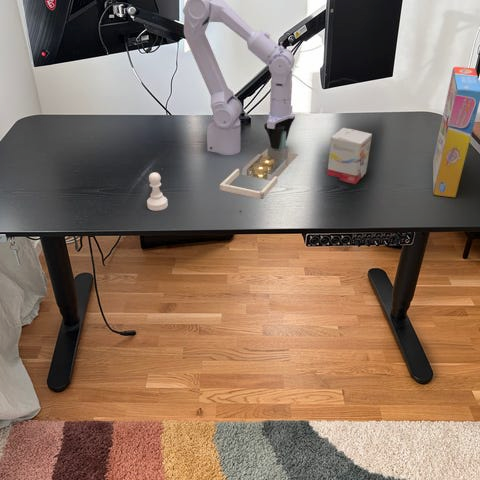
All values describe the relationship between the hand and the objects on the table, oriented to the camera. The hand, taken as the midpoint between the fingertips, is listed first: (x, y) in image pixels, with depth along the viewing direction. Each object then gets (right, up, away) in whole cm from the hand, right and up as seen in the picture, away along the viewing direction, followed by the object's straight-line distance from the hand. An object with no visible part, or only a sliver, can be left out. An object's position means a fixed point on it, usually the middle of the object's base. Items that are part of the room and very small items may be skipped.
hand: (279, 144), depth 149 cm
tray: (-9, -14, -13) cm, 21 cm away
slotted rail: (-3, -7, -3) cm, 8 cm away
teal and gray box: (0, -3, +2) cm, 3 cm away
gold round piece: (-6, -10, -8) cm, 14 cm away
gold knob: (-4, -7, -5) cm, 10 cm away
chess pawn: (-32, -19, -21) cm, 42 cm away
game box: (+43, -11, -9) cm, 46 cm away
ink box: (+18, -10, -7) cm, 22 cm away
